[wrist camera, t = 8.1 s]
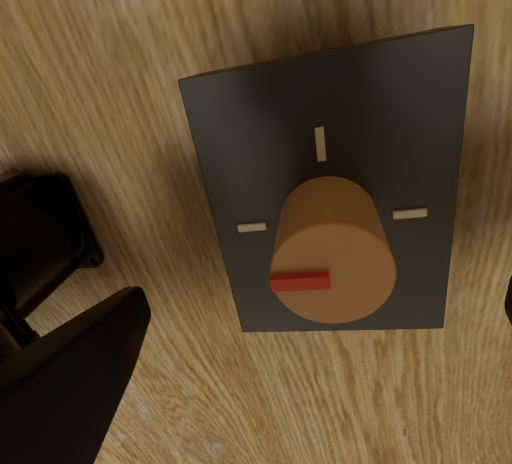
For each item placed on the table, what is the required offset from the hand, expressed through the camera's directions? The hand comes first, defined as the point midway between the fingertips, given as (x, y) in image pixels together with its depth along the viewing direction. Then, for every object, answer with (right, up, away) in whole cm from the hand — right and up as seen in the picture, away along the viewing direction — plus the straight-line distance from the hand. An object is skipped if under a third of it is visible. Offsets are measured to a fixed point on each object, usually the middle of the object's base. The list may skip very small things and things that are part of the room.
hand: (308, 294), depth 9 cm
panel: (+3, +4, +10) cm, 11 cm away
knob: (+2, +2, +7) cm, 8 cm away
